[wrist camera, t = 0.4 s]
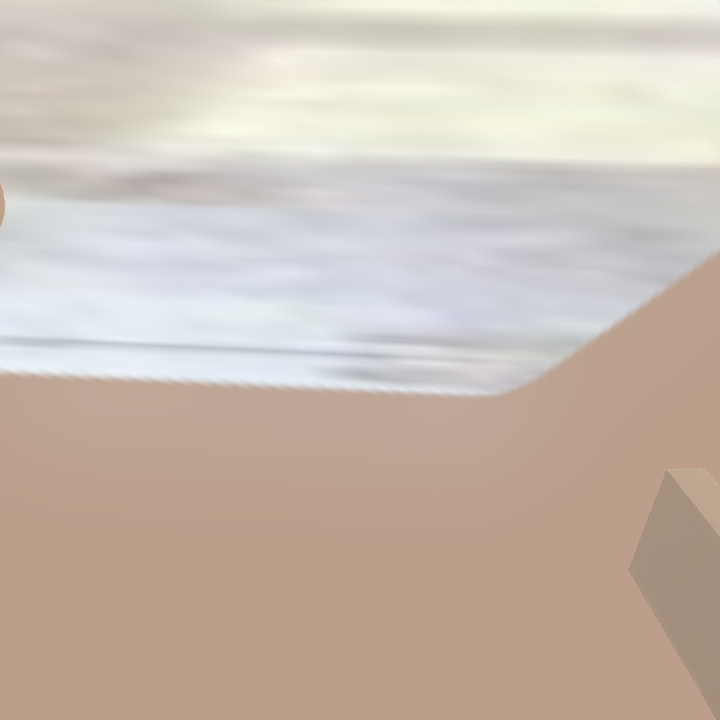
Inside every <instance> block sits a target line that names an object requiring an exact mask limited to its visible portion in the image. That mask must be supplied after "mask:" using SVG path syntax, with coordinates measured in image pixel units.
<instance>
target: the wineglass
mask: <svg viewBox="0 0 720 720" xmlns="http://www.w3.org/2000/svg"><path fill="white" fill-rule="evenodd" d="M5 214H6V196H5V191H4V188H3V185H2V182H1V180H0V228H1V226H2V224H3V221H4V219H5Z"/></svg>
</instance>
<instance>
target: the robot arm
mask: <svg viewBox="0 0 720 720" xmlns="http://www.w3.org/2000/svg"><path fill="white" fill-rule="evenodd" d="M629 571H630V573H631V575H632V576H633V578H634V580H635V582H636V583H637V585H638V587H639V588H640V590H641V592H642V594H643V595H644V597H645V599H646V600H647V602H648V604H649V605H650V607H651V609H652V610H653V612H654V614H655V616H656V617H657V619H658V621H659V622H660V624H661V626H662V628H663V629H664V631H665V632H666V634H667V636H668V637H669V639H670V641H671V643H672V644H673V646H674V648H675V650H676V651H677V653H678V655H679V656H680V658H681V660H682V661H683V663H684V665H685V667H686V668H687V670H688V672H689V673H690V675H691V677H692V678H693V680H694V682H695V683H696V685H697V687H698V689H699V690H700V692H701V694H702V695H703V697H704V699H705V701H706V702H707V704H708V705H709V707H710V709H711V711H712V712H713V714H714V716H715V718H716V719H717V720H720V486H719V485H718V484H717V482H716V481H715V480H714V479H713V478H712V477H711V475H710V474H709V473H708V472H707V471H706V470H705V469H704V468H692V469H667V470H666V472H665V475H664V478H663V480H662V483H661V486H660V489H659V491H658V493H657V496H656V499H655V501H654V504H653V507H652V509H651V512H650V515H649V517H648V520H647V523H646V525H645V528H644V531H643V533H642V536H641V539H640V541H639V544H638V547H637V550H636V552H635V555H634V557H633V560H632V563H631V565H630V568H629Z"/></svg>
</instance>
